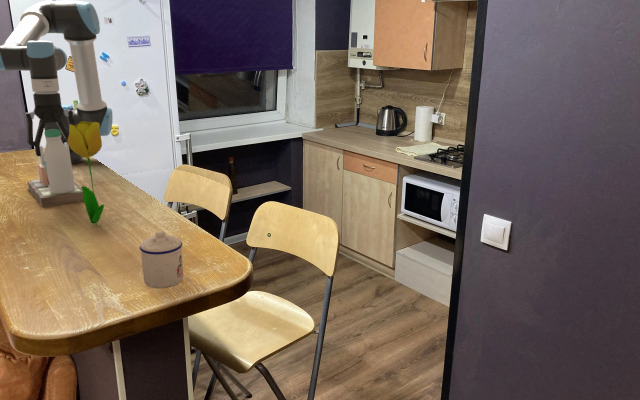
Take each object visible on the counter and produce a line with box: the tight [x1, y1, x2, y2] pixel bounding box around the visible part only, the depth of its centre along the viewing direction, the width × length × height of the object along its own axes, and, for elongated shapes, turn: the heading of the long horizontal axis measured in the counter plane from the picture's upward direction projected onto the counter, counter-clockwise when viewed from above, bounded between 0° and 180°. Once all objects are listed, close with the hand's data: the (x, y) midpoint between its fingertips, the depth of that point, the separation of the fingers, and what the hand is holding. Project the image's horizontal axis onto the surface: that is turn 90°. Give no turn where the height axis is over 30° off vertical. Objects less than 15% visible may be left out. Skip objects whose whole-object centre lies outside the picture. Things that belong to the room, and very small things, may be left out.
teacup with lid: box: [139, 230, 184, 289], centre depth 120 cm, size 12×9×12 cm
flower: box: [68, 121, 105, 226], centre depth 149 cm, size 9×8×30 cm
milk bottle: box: [43, 129, 76, 194], centre depth 170 cm, size 8×8×20 cm
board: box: [27, 179, 84, 208], centre depth 181 cm, size 24×13×3 cm, turn 37°
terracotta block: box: [37, 163, 48, 185], centre depth 184 cm, size 6×6×6 cm
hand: (56, 164), depth 173 cm, fingers closed on milk bottle, 7 cm apart
